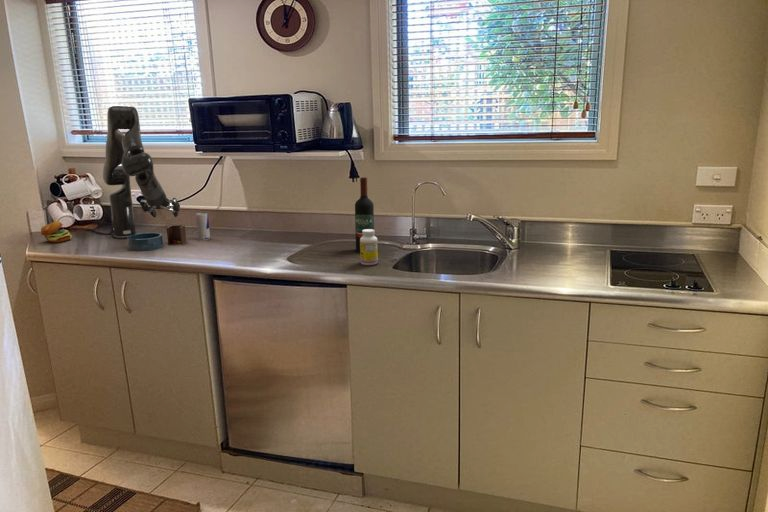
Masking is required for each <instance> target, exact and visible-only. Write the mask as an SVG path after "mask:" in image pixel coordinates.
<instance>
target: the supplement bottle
mask: <svg viewBox="0 0 768 512" xmlns="http://www.w3.org/2000/svg"><path fill="white" fill-rule="evenodd" d="M375 233H376V231H375V229H374V230H373V229H365V230H362V234H363V237H361V238H360V252H359V257H360V258H359V261H360V262H359V263H360V264H361V265H363V266H376V265H377V264H378V262H379V253H378V251H379V250H378V249H379V248H378V246H379V245H378V244H379V243H378V237H377V236H375V235H376V234H375Z"/></svg>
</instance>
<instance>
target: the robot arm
mask: <svg viewBox="0 0 768 512" xmlns="http://www.w3.org/2000/svg"><path fill="white" fill-rule="evenodd" d="M106 114H107V117H106V119H107V121H106V122H107V123H106V124H107V126H106V127H107V134H106V141H105V157H104V164H103V167H102V179H103V182H104V183H105V185H107V186H121V188H119V189H118V190H116V191H113V192H111V193H110V194H109V202H110V212H111V217H110V218H111V226H110V232H108V233H107V232H106V233H105V232H101V231H97V230H96V229H93V228H87V227H72V228H71V230H83V231H84V230H85V231H86V230H87V231H92V232H94V233H96V234H100V235H103V236H105V235H106V236H107V235H112V234H113V237H114V238H116V239H127V237H128V236H130V235H134V234H137V230H136V222H135V215H134V214H135V213H134V206H133V205H134V204H133V199H132V189H131V177H134V180H135V182H136V184H137V185H138V187H139V190H140V192H141V194H142V196H143V197H144V198H143V197H142V198H140V203H139V204H140V207H141V209H142V211H143V212H144V213H147V212H148V213H150V215H151V217H153V218H157V211H156V209H157V210H160V209H161V210H165V211H168V212H169V211H170V212H172V215H173V217H174V218H177V217H178V216H179V212H180V207H181V204H180V203H179V201H178V200H177V198H176V197H173V198H172V199H169V198H168V197H167V195H166V193H165V191H164V189H163V187H162V185H161V183H160V181H158V178H157V177H156V174H155V170H154V160H153V157H152V156H151V155H150V154H149V153H148V152H145V148H144V145H143V141H142V137H141V124H140V123H141V122H140V117H139V112H138V110H137V108H136V107H135V106H132V105H121V104H119V105H118V104H115V105H110V106H109V107H108V109H107V113H106ZM121 130H127V131H126V132H125V133H123V132H122V131H121ZM148 205H149V206H148Z"/></svg>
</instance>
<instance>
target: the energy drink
mask: <svg viewBox="0 0 768 512" xmlns="http://www.w3.org/2000/svg"><path fill="white" fill-rule="evenodd" d="M195 224H196V234H197V235H196V236H197V240H198V241H207V240H210V239H211V233H210V232H211V231H210V220H209V214H208V212H197V213H195Z"/></svg>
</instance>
